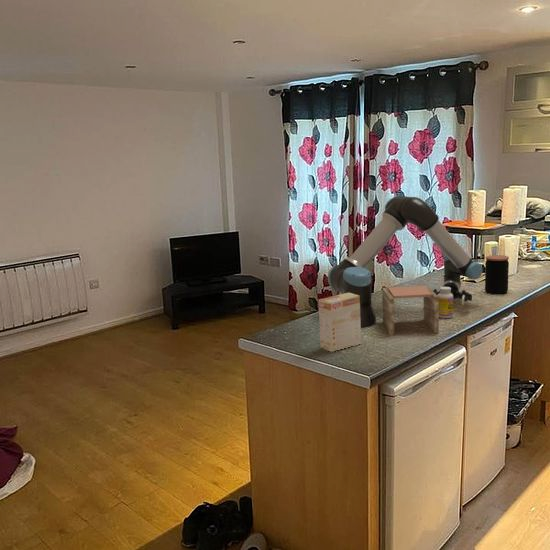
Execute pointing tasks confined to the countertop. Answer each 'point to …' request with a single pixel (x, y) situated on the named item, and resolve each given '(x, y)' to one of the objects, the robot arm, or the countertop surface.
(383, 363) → the countertop surface
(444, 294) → the supplement bottle
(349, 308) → the coffeecake box
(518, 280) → the countertop surface
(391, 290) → the trapdoor
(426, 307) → the stand
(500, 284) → the coffee jar
